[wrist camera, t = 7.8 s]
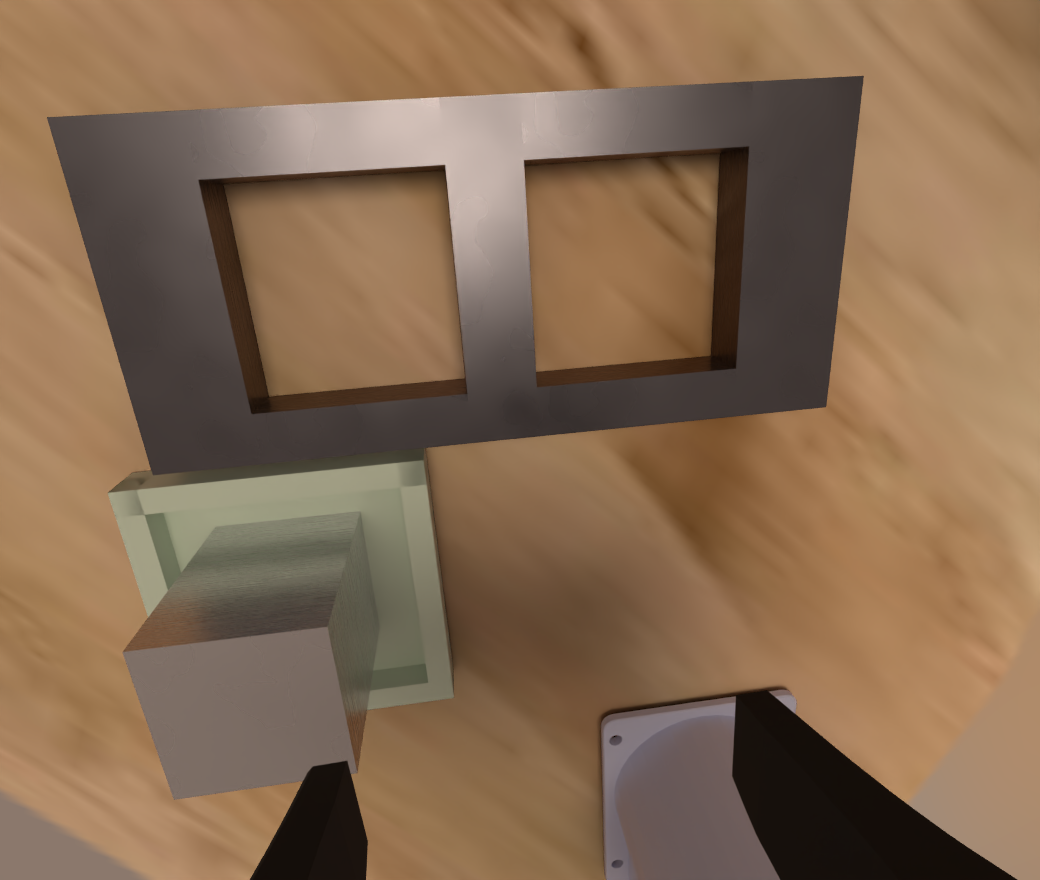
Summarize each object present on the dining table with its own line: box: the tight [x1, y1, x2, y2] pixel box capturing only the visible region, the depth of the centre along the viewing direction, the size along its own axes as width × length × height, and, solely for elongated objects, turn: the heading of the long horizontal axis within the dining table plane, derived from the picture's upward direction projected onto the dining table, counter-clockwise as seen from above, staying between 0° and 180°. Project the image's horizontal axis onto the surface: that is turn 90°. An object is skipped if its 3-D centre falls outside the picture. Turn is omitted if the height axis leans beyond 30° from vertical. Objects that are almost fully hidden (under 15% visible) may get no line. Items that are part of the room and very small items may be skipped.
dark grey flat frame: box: [47, 76, 864, 475], centre depth 17 cm, size 20×9×2 cm, turn 94°
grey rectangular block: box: [123, 511, 380, 800], centre depth 17 cm, size 4×4×6 cm
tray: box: [108, 448, 454, 710], centre depth 20 cm, size 9×9×2 cm
